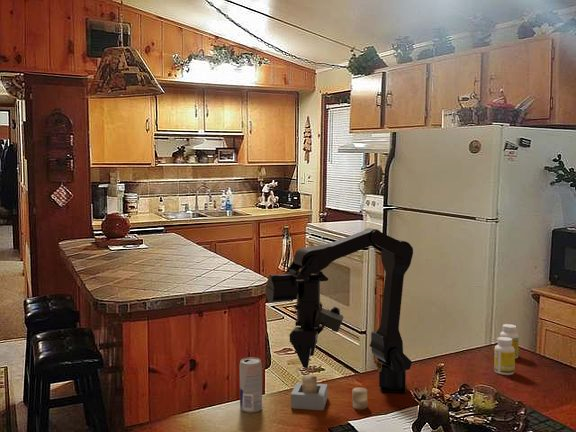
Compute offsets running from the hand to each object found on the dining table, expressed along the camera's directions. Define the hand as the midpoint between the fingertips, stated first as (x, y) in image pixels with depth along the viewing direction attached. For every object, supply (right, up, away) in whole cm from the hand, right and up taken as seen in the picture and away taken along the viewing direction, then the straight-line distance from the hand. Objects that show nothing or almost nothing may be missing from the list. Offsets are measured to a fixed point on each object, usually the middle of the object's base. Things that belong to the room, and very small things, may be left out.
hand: (308, 361), depth 141 cm
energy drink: (-14, -11, -2) cm, 18 cm away
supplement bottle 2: (+57, -9, +21) cm, 61 cm away
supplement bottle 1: (+64, -8, +35) cm, 73 cm away
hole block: (0, -11, +1) cm, 11 cm away
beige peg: (0, -11, +1) cm, 11 cm away
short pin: (+13, -11, -2) cm, 16 cm away
